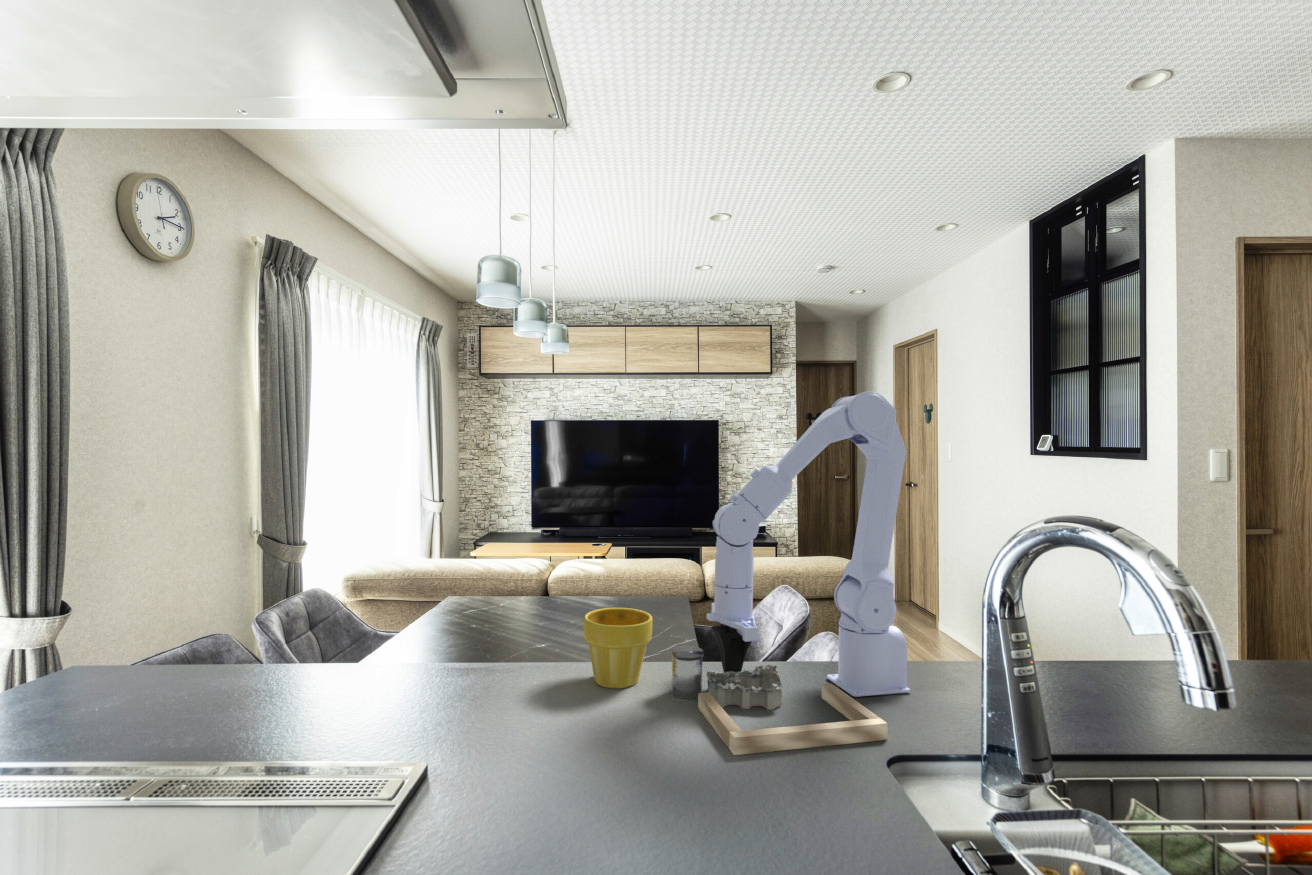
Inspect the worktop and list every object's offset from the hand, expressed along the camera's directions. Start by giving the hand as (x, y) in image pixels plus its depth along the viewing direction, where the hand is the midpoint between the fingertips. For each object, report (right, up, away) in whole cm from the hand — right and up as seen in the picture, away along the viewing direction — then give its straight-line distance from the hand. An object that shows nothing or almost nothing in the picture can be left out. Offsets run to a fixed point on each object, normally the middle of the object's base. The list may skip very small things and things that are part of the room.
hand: (732, 675), depth 94 cm
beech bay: (+6, -1, -12) cm, 13 cm away
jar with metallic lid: (-7, -1, -3) cm, 8 cm away
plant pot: (-17, -1, +1) cm, 17 cm away
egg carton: (+1, -2, -5) cm, 5 cm away
